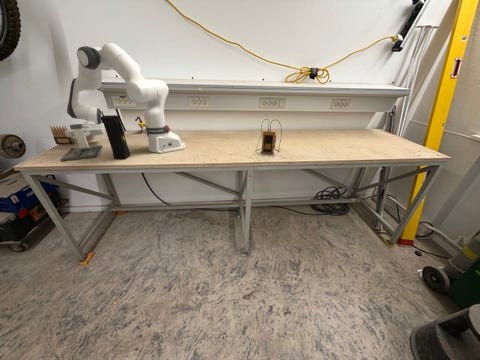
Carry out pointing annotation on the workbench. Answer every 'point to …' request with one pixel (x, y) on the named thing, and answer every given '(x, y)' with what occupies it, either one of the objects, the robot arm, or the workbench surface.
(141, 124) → the robot dog
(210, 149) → the workbench surface
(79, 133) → the fader tab
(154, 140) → the robot arm
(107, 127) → the portable radio
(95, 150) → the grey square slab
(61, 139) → the ammunition clip
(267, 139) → the multimeter
